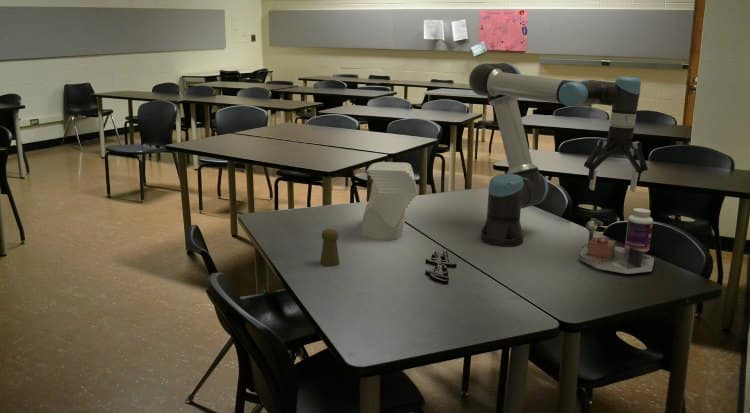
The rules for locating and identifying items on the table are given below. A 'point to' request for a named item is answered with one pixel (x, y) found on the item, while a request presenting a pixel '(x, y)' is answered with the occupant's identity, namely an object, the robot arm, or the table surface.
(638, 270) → the turntable
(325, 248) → the cork
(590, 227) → the dial stand
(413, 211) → the table surface
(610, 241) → the pink gift box
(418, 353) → the table surface
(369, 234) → the paper stack
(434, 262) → the black irregular piece
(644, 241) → the pill bottle
